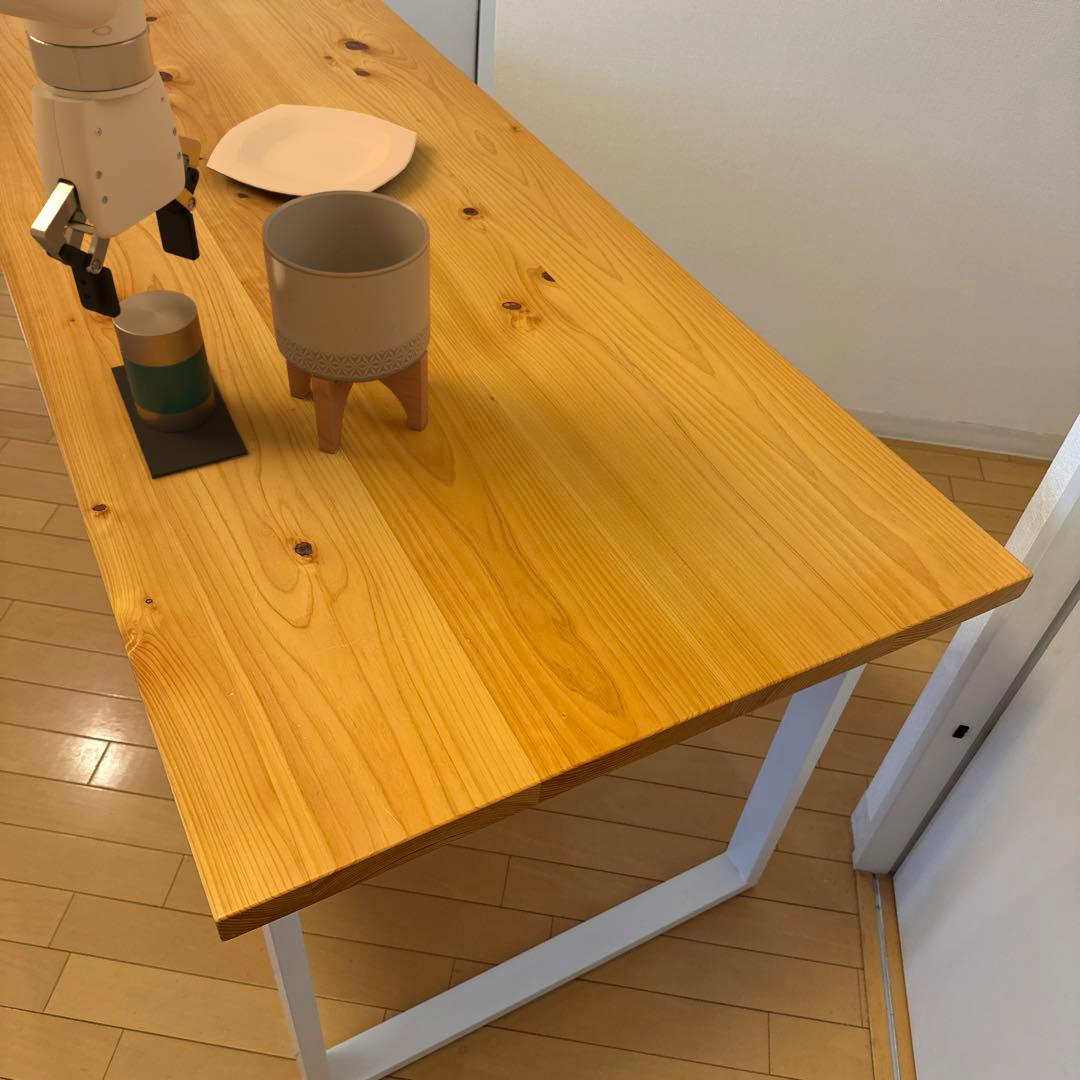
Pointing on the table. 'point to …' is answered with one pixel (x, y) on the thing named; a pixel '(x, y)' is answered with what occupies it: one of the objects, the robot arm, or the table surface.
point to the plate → (313, 151)
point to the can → (165, 360)
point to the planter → (350, 300)
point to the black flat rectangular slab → (183, 436)
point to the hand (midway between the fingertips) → (143, 282)
